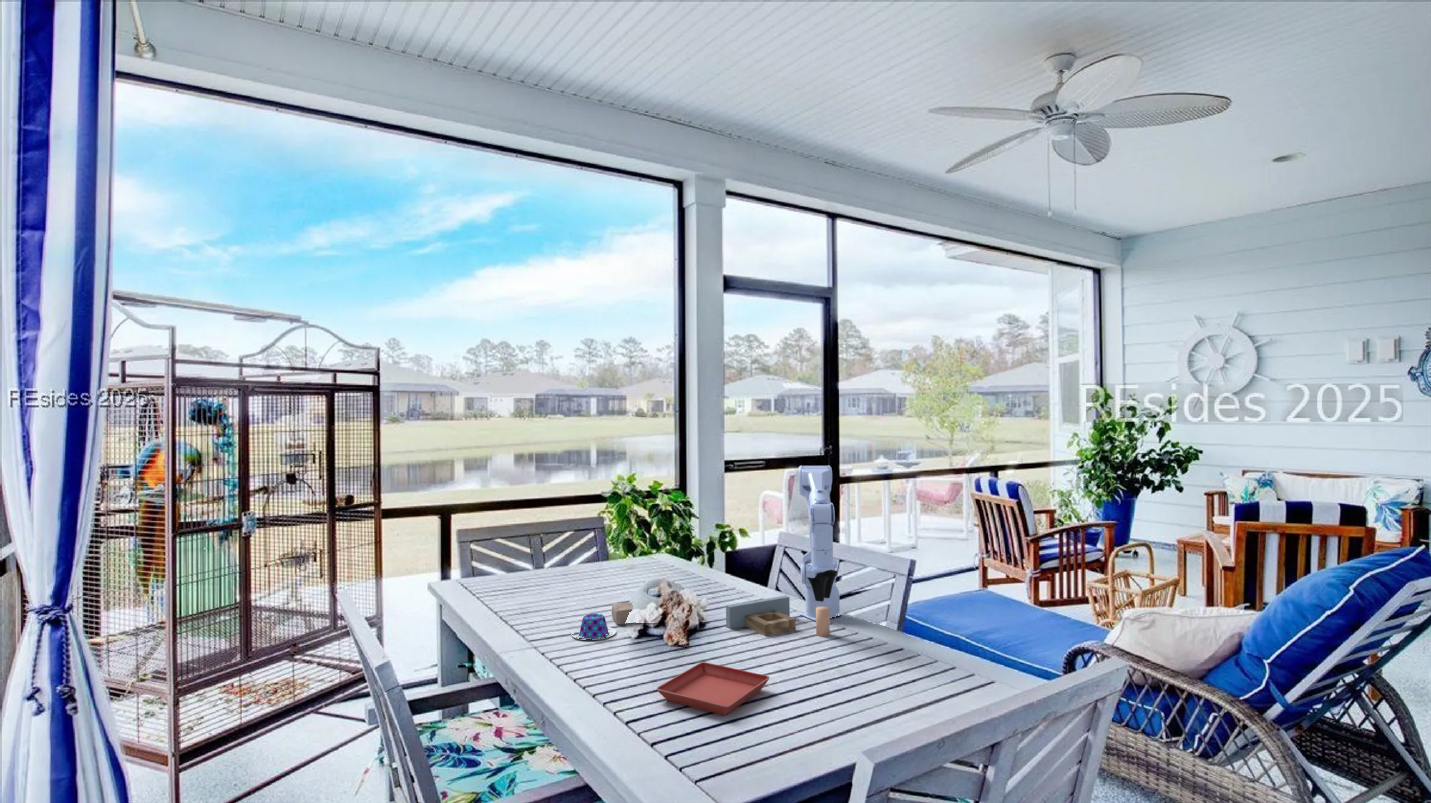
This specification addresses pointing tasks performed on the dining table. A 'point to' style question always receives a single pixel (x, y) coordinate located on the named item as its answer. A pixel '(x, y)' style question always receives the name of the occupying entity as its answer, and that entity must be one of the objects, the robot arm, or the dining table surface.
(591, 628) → the pudding
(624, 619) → the brick
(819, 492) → the robot arm
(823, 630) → the dowel
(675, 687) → the plant saucer
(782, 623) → the socket block
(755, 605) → the wall
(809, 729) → the dining table surface
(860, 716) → the dining table surface
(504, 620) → the dining table surface
